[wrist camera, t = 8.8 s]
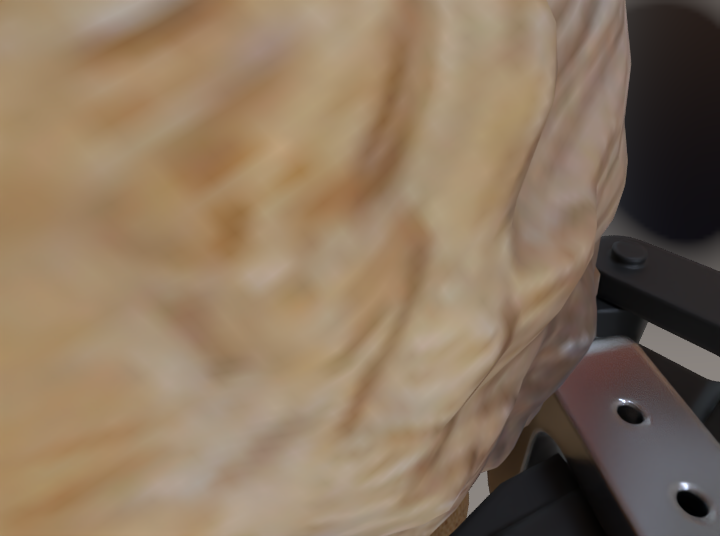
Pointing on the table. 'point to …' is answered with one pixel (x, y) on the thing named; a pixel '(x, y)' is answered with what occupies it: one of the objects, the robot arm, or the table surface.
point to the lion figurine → (292, 254)
